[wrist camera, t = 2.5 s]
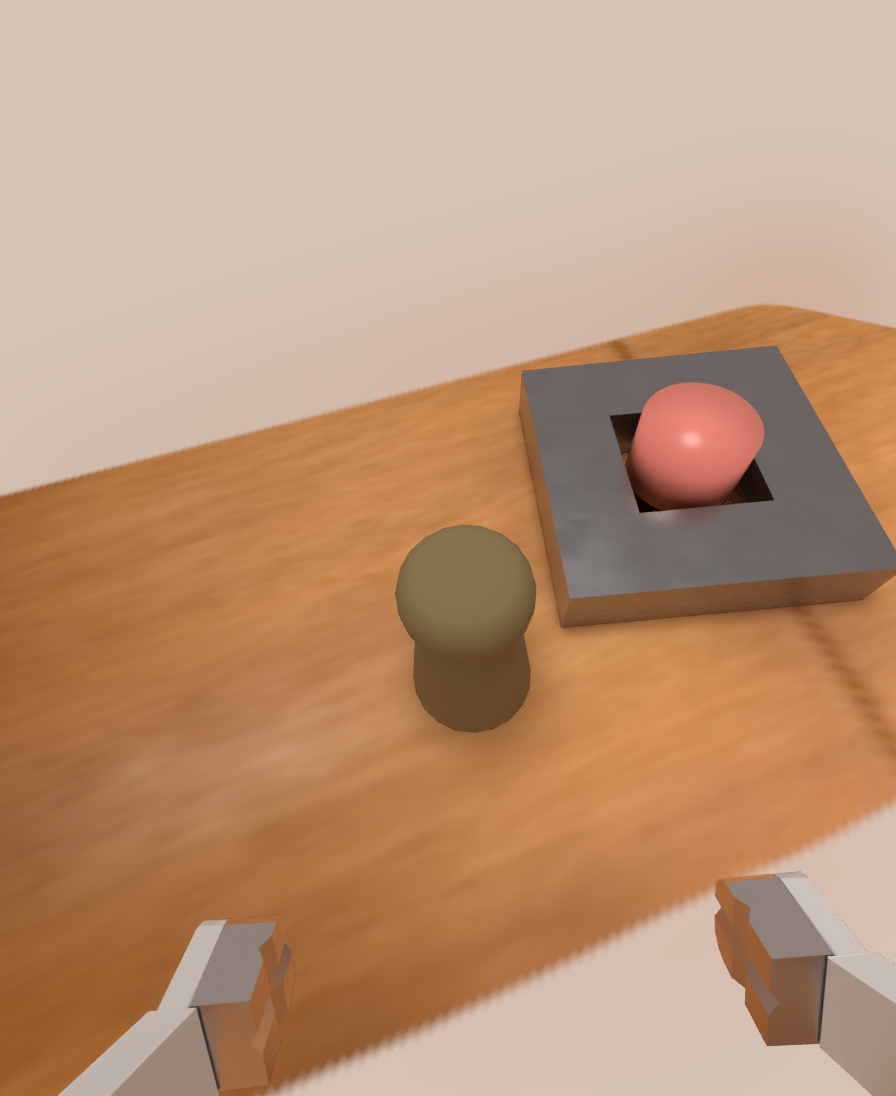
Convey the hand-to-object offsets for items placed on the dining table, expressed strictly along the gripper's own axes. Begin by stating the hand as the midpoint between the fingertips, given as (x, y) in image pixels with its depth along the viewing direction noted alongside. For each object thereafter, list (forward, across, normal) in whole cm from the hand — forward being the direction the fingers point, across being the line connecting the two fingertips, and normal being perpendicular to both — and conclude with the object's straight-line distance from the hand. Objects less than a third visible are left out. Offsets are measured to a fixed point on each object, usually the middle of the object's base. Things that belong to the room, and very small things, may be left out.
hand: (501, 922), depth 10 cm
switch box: (+25, -13, -3) cm, 28 cm away
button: (+23, -13, -5) cm, 27 cm away
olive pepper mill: (+18, 0, +4) cm, 18 cm away
